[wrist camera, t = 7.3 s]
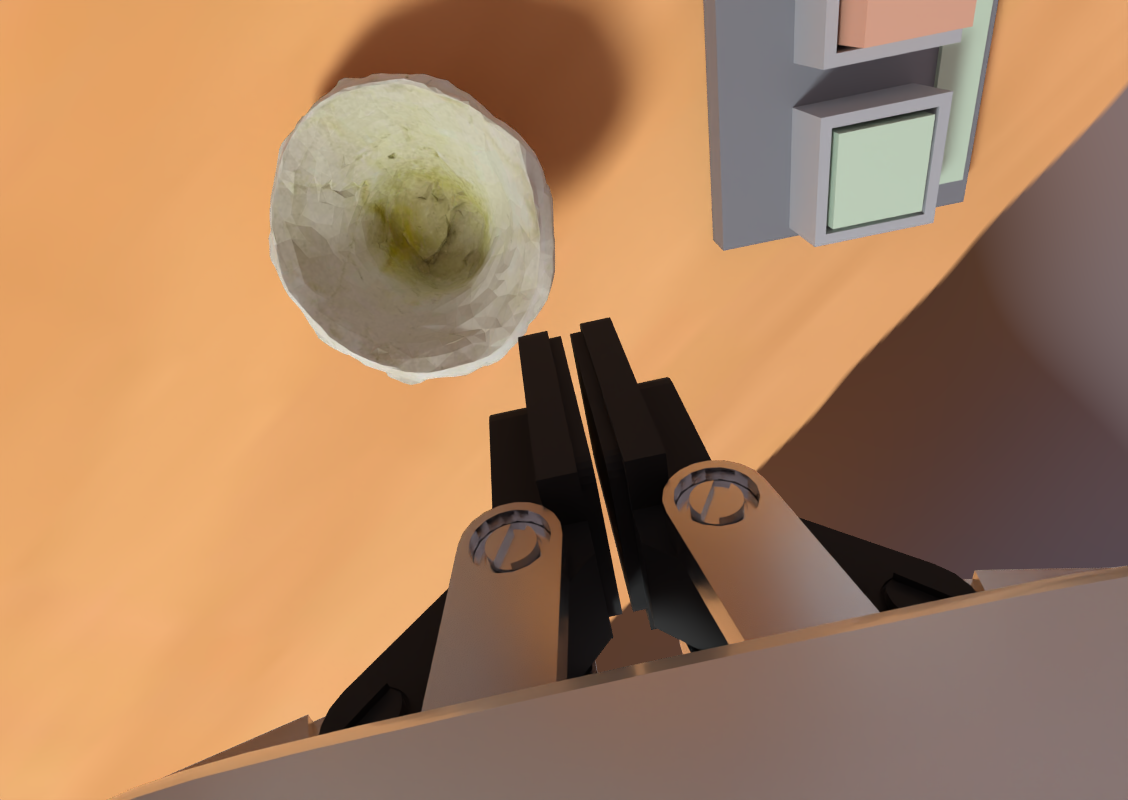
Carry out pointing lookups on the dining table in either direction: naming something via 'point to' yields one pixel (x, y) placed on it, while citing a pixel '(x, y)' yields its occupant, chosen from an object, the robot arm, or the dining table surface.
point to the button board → (825, 113)
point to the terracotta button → (899, 20)
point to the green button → (878, 168)
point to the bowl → (412, 226)
